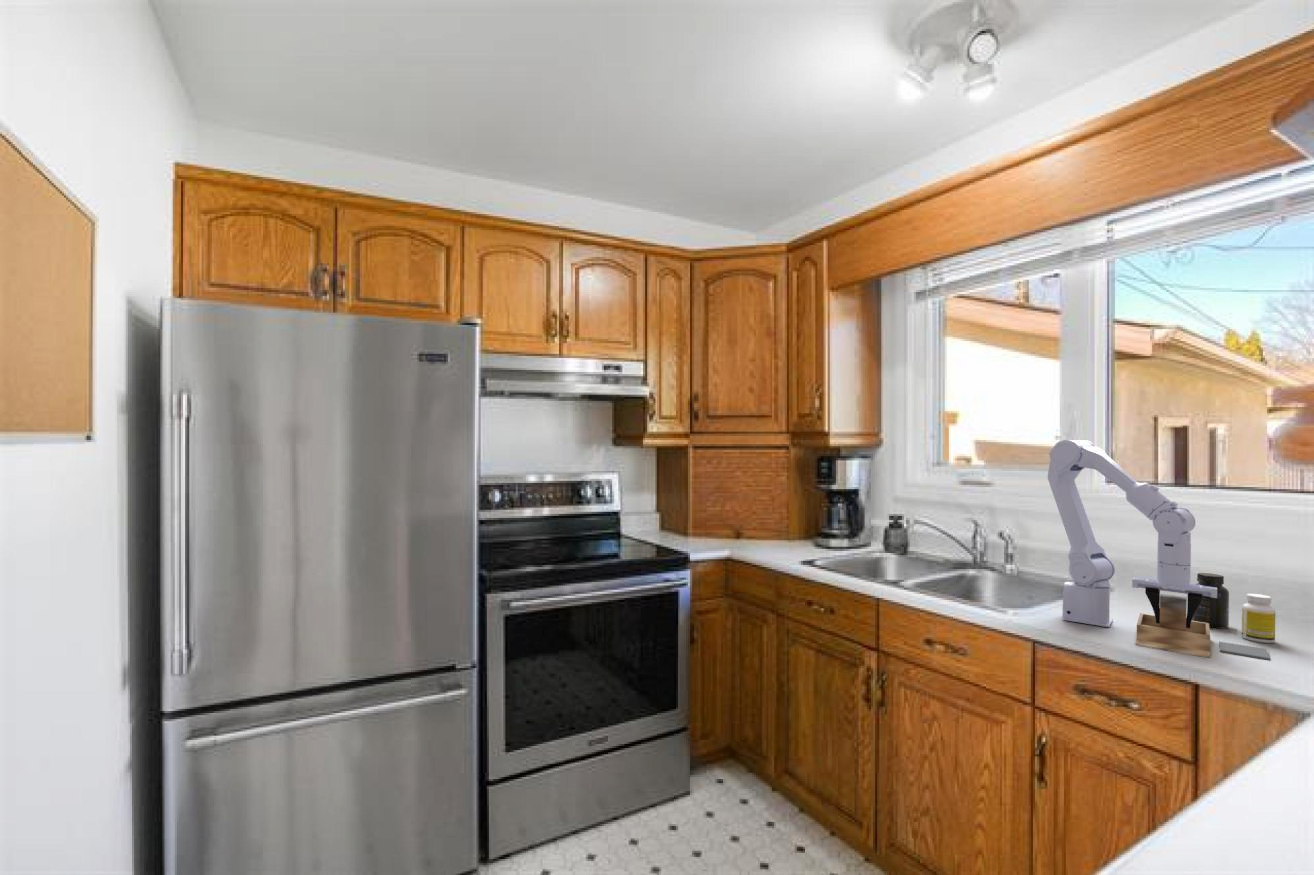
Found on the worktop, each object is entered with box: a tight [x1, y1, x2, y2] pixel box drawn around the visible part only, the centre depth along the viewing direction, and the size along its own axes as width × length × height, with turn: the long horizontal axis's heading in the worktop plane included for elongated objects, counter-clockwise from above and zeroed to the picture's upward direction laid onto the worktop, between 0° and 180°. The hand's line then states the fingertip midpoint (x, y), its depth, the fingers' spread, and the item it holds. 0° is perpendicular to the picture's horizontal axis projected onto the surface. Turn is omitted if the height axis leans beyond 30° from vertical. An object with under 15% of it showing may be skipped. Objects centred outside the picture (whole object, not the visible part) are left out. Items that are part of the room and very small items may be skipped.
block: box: [1160, 593, 1188, 632], centre depth 142 cm, size 4×4×9 cm
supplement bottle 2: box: [1241, 593, 1276, 644], centre depth 142 cm, size 5×5×10 cm
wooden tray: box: [1134, 612, 1211, 658], centre depth 142 cm, size 12×20×4 cm, turn 140°
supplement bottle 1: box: [1192, 572, 1230, 629], centre depth 154 cm, size 7×7×12 cm
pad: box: [1218, 641, 1271, 661], centre depth 134 cm, size 8×8×1 cm
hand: (1172, 624), depth 142 cm, fingers closed on block, 4 cm apart
